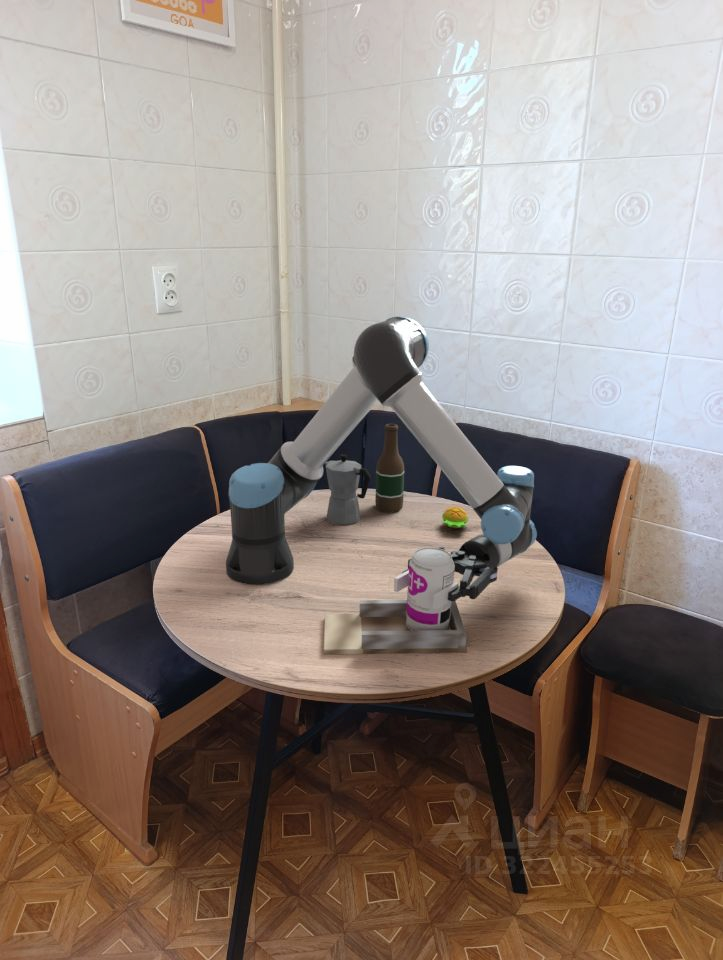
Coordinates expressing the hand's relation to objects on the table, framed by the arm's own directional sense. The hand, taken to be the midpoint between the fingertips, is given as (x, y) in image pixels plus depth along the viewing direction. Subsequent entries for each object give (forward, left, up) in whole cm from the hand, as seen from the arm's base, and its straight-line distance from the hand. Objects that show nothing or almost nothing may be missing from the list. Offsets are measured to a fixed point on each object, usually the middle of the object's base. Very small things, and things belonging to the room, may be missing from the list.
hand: (414, 593), depth 119 cm
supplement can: (+3, +3, -9) cm, 10 cm away
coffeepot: (-11, +58, -11) cm, 60 cm away
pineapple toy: (+17, +52, -11) cm, 56 cm away
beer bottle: (+1, +66, -11) cm, 67 cm away
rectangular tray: (-3, +3, -11) cm, 12 cm away
